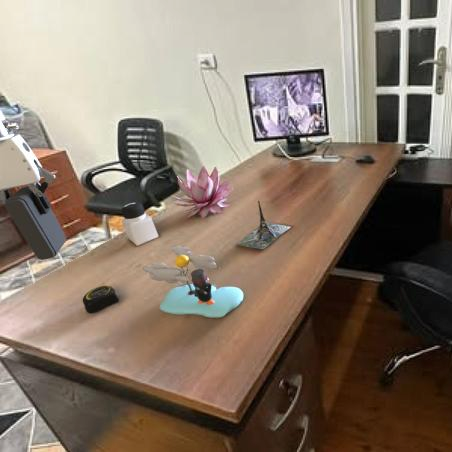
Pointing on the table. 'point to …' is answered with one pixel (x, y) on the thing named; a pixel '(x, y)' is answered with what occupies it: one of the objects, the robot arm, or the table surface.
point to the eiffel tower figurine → (263, 233)
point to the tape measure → (99, 299)
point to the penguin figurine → (194, 287)
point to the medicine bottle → (138, 224)
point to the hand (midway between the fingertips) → (33, 213)
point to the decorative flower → (204, 192)
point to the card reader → (35, 224)
